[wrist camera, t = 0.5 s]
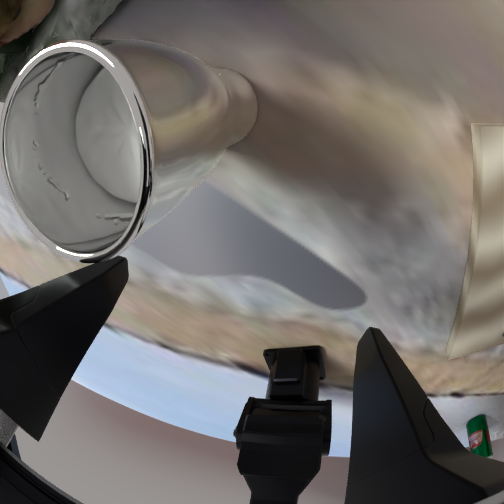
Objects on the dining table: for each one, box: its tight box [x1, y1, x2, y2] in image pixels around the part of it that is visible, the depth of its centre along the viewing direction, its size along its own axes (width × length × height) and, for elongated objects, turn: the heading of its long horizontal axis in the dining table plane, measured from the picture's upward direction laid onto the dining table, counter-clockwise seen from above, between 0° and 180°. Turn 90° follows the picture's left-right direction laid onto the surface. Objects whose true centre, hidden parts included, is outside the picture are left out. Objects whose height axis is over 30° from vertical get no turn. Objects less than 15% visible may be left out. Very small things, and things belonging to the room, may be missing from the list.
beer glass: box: [0, 39, 258, 263], centre depth 12 cm, size 7×7×15 cm
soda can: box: [466, 415, 493, 459], centre depth 32 cm, size 5×5×12 cm
